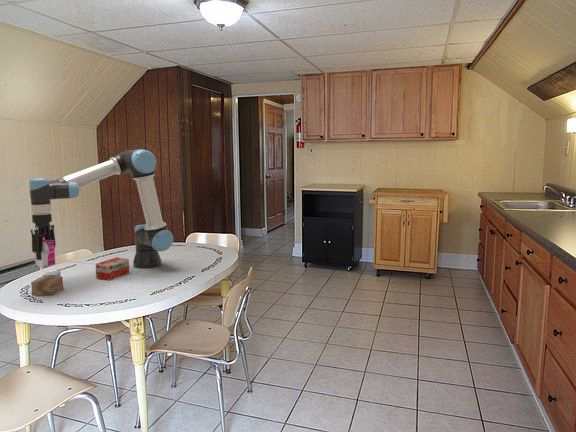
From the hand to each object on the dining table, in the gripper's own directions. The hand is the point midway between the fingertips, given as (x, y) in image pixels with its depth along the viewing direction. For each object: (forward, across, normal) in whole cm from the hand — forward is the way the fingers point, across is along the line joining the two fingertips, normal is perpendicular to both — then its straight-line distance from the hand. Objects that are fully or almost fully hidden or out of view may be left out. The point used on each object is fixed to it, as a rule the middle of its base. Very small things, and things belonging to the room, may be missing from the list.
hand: (45, 264), depth 194 cm
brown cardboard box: (+13, 0, 0) cm, 13 cm away
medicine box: (+13, -28, +18) cm, 35 cm away
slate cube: (+13, -10, -4) cm, 17 cm away
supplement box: (+1, 0, 0) cm, 1 cm away
